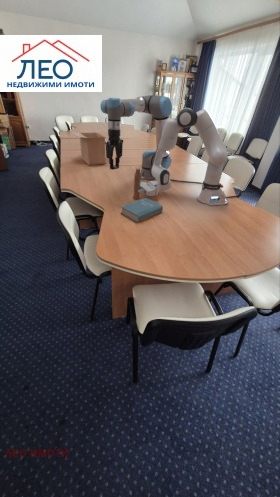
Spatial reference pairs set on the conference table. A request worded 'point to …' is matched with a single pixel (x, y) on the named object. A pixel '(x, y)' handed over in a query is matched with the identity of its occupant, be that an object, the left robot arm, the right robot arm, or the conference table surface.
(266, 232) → the conference table surface
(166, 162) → the left robot arm
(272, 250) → the conference table surface
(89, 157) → the box
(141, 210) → the book
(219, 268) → the conference table surface
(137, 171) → the bottle
